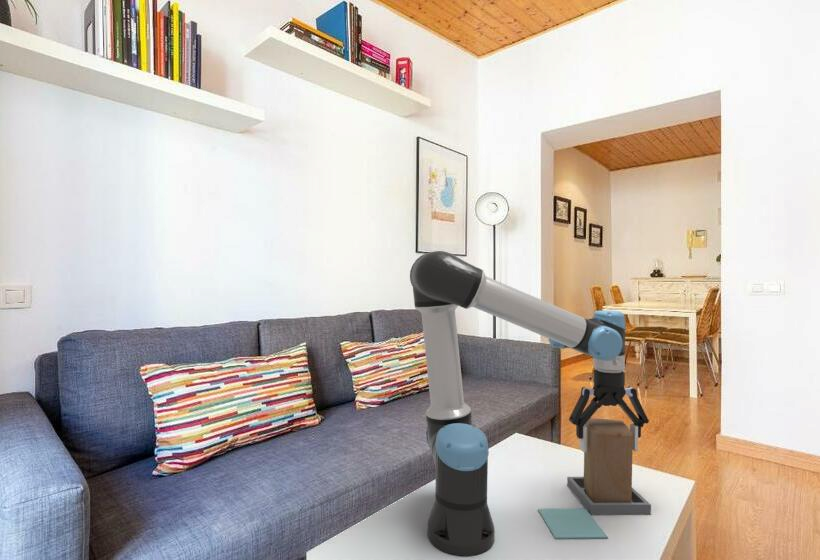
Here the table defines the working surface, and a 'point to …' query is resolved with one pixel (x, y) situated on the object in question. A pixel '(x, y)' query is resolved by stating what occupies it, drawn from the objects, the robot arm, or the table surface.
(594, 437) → the wooden block
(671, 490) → the table surface
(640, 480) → the table surface
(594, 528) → the board
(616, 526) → the table surface
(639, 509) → the gray square frame
